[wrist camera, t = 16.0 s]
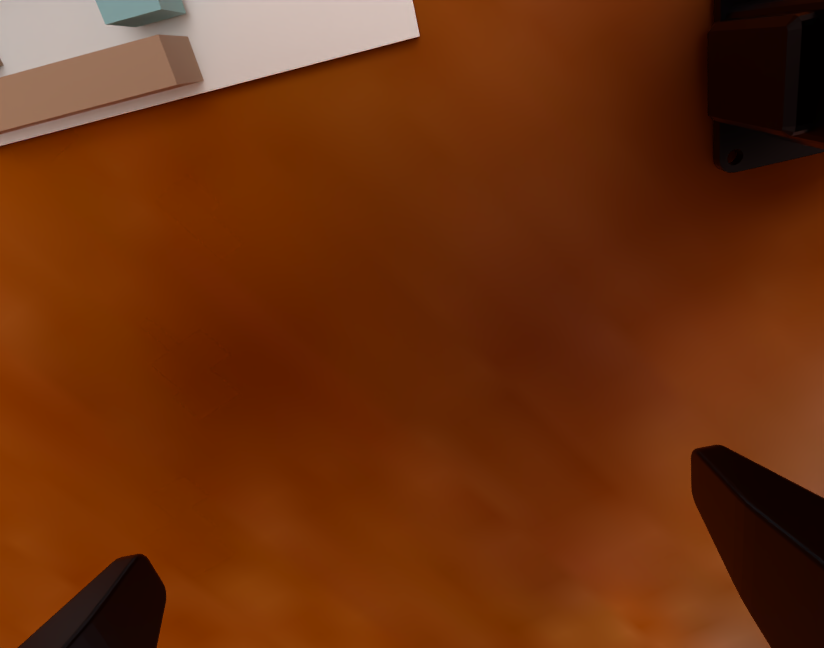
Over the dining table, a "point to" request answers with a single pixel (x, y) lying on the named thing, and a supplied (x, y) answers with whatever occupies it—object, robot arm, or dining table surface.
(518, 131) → the dining table surface
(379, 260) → the dining table surface
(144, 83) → the seat board
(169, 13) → the bar
